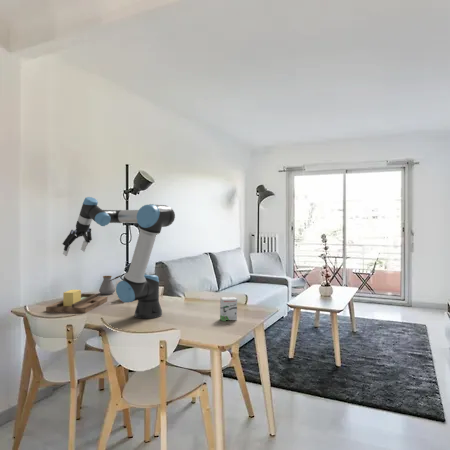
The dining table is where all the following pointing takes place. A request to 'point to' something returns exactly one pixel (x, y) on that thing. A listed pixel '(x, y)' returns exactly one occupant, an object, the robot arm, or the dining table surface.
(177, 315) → the dining table surface
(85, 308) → the trap board
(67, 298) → the ochre block
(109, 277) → the coffee pot
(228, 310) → the ink box
